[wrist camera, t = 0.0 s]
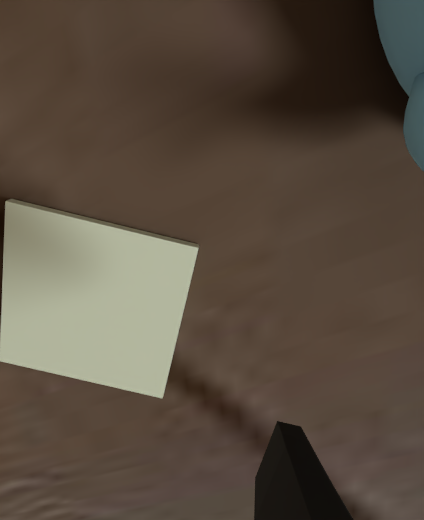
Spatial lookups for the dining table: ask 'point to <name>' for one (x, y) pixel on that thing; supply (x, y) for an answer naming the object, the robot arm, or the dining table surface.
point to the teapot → (406, 62)
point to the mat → (91, 297)
